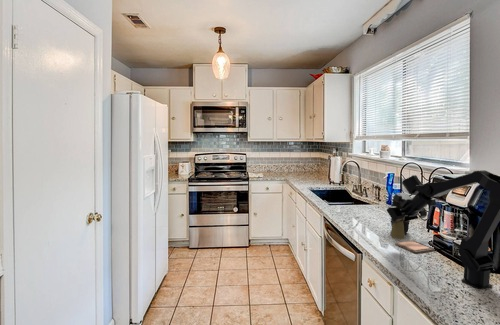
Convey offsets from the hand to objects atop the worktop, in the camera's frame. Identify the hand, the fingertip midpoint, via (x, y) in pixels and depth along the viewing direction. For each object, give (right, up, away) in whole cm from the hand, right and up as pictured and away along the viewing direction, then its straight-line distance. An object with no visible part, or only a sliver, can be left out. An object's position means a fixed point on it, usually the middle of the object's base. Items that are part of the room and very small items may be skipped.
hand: (395, 222), depth 136 cm
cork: (+1, -7, -1) cm, 7 cm away
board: (+15, -13, +4) cm, 20 cm away
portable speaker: (+15, -11, +25) cm, 32 cm away
